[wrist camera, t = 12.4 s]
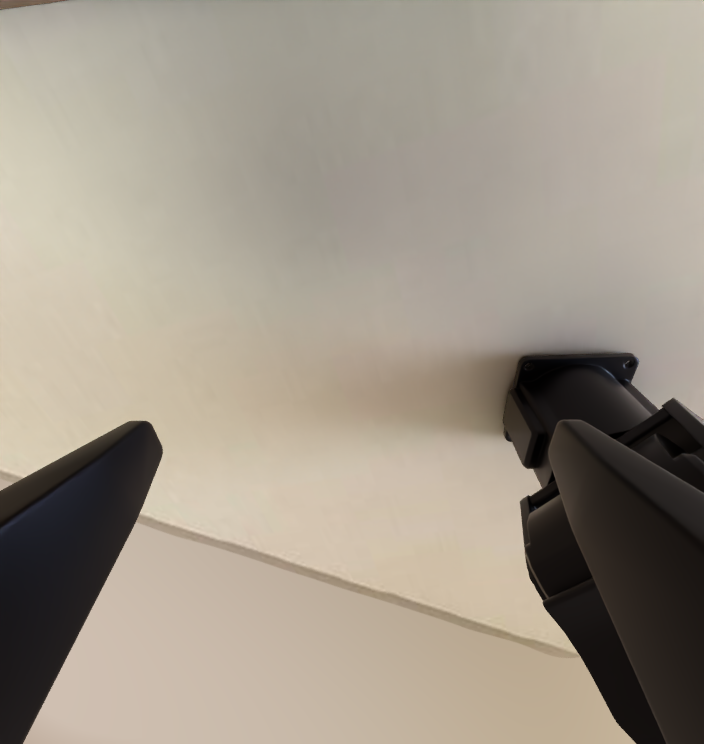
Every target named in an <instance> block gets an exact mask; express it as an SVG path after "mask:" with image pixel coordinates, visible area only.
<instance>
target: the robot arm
mask: <svg viewBox="0 0 704 744" xmlns="http://www.w3.org/2000/svg"><path fill="white" fill-rule="evenodd" d="M627 361H629V362H628V363H627V364H625V363H626V362H627ZM528 363H531V365H530V366H528V367H525V366H526V365H527V364H528ZM638 364H639V360H638V358H637V357H635V356H634V355H633V354H631V353H617V354H582V355H548V356H526V357H524V358H522V359H521V360H520V361H519V363H518V367H517V372H516V377H515V381H514V386H513V388H511V390H510V391H509V393H508V398H507V402H506V407H505V412H504V417H503V423H504V425H505V428H504V436H505V438H506V440H507V441H510V442H513V445H514V447H515V449H516V451H517V454H518V456H519V458H520V460H521V462H522V465H523V466H524V467H525V468H527V469H533V470H534V472H535V474H536V476H537V478H538V480H539V482H540V484H541V486H542V489H541V490H539V491H538V492H536V493H535V494H533V495H532V496H527V497H525V498H524V499H522V500H521V501H520V506H521V516H522V526H523V536H524V547H525V557H526V563H527V569H528V571H529V577H530V579H531V581H532V583H533V584H534V586H535V588H536V590H537V592H538V593H539V595H540V596H541V598H542V600H543V605H544V607H545V609H546V610H547V612H548V613H549V614H550V615H551V616H552V618H553V619H554V620H555V621H556V622H557V624H558V625H559V626H560V627H561V629H562V630H563V631H564V632H565V634H566V635H567V637H568V638H569V640H570V641H571V643H572V644H573V646H574V647H575V649H576V650H577V652H578V653H579V655H580V656H581V658H582V660H583V661H584V663H585V665H586V667H587V668H588V670H589V672H590V674H591V676H592V677H593V679H594V681H595V683H596V685H597V687H598V689H599V691H600V692H601V694H602V696H603V698H604V700H605V702H606V704H607V706H608V708H609V710H610V712H611V713H612V715H613V717H614V719H615V720H616V722H617V723H618V724H619V726H620V727H621V728H622V729H623V730H624V731H625V732H626V733H627V734H628V735H629V736H630V737H631V738H632V739H633V740H634V741H635V743H636V744H704V420H703V419H701V418H700V417H699V416H697V415H696V414H695V413H693V412H692V411H691V410H689V409H688V408H687V407H685V406H684V405H682V404H681V403H680V402H678V401H677V400H676V399H674V398H672V399H671V400H669V401H668V402H666V403H665V404H663V405H662V407H663V408H662V409H660V410H658V409H657V408H656V407H655V406H654V405H653V404H652V403H651V402H650V401H649V400H648V399H647V398H646V397H644V396H643V395H642V394H641V393H640V392H639V391H638V390H637V389H636V388H635V387H634V386H633V385H632V384H631V381H632V378H633V376H634V374H635V371H636V369H637V367H638ZM162 454H163V449H162V445H161V443H160V441H159V439H158V437H157V434H156V432H155V430H154V428H153V426H152V424H151V423H149V422H148V421H129V422H127V423H125V424H123V425H121V426H119V427H117V428H116V429H114V430H112V431H110V432H108V433H106V434H104V435H103V436H101V437H99V438H97V439H95V440H93V441H92V442H90V443H88V444H86V445H84V446H82V447H80V448H79V449H77V450H75V451H73V452H71V453H69V454H68V455H66V456H64V457H62V458H60V459H58V460H56V461H55V462H53V463H51V464H49V465H47V466H45V467H44V468H42V469H40V470H38V471H36V472H34V473H32V474H31V475H29V476H27V477H25V478H23V479H21V480H20V481H18V482H16V483H14V484H12V485H11V486H9V487H7V488H5V489H3V490H1V491H0V744H23V742H24V740H25V738H26V736H27V734H28V732H29V730H30V728H31V727H32V725H33V723H34V721H35V719H36V717H37V715H38V713H39V711H40V709H41V707H42V705H43V703H44V701H45V699H46V697H47V695H48V693H49V691H50V689H51V687H52V685H53V683H54V681H55V680H56V678H57V676H58V674H59V672H60V670H61V668H62V666H63V664H64V662H65V660H66V658H67V656H68V654H69V652H70V650H71V648H72V646H73V644H74V642H75V640H76V638H77V636H78V634H79V632H80V630H81V628H82V626H83V625H84V623H85V621H86V619H87V617H88V615H89V613H90V611H91V609H92V607H93V605H94V603H95V601H96V599H97V597H98V595H99V593H100V591H101V589H102V587H103V585H104V583H105V581H106V580H107V577H108V576H109V574H110V572H111V570H112V568H113V566H114V564H115V562H116V560H117V558H118V556H119V554H120V552H121V550H122V548H123V546H124V544H125V542H126V540H127V538H128V536H129V534H130V533H131V531H132V529H133V527H134V524H135V522H136V520H137V518H138V516H139V513H140V511H141V509H142V506H143V504H144V501H145V499H146V496H147V494H148V491H149V489H150V486H151V483H152V481H153V478H154V476H155V473H156V471H157V468H158V466H159V463H160V461H161V458H162Z"/></svg>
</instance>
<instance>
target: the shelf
mask: <svg viewBox="0 0 704 744" xmlns="http://www.w3.org/2000/svg"><path fill="white" fill-rule="evenodd" d="M58 1H65V0H0V9H6V8H13V7H21V6H28V5H36V4H43V3H50V2H58Z"/></svg>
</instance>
